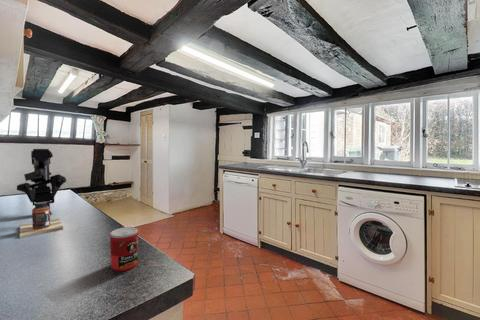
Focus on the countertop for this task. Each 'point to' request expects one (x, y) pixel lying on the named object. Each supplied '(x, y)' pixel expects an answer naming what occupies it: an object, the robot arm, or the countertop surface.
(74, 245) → the countertop surface
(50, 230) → the birch board
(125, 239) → the canned food
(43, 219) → the supplement bottle
